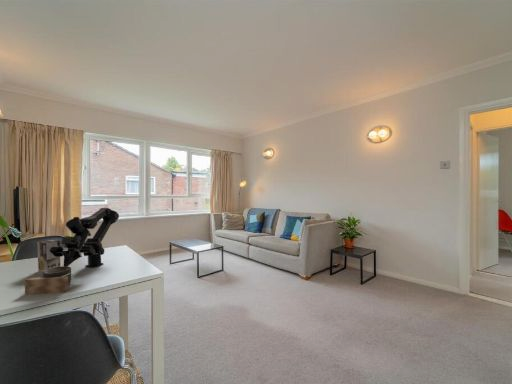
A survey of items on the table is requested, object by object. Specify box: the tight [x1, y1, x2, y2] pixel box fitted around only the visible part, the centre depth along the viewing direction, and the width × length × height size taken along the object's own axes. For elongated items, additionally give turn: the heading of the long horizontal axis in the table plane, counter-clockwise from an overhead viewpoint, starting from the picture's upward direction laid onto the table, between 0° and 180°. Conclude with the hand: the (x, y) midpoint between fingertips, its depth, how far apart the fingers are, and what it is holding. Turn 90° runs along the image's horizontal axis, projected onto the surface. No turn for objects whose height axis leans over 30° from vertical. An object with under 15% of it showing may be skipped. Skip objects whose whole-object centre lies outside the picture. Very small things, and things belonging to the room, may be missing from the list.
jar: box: [42, 265, 72, 285], centre depth 108 cm, size 10×10×8 cm
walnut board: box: [24, 276, 70, 295], centre depth 102 cm, size 16×2×6 cm, turn 95°
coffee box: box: [37, 239, 61, 273], centre depth 128 cm, size 9×6×16 cm
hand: (64, 266), depth 113 cm, fingers closed
